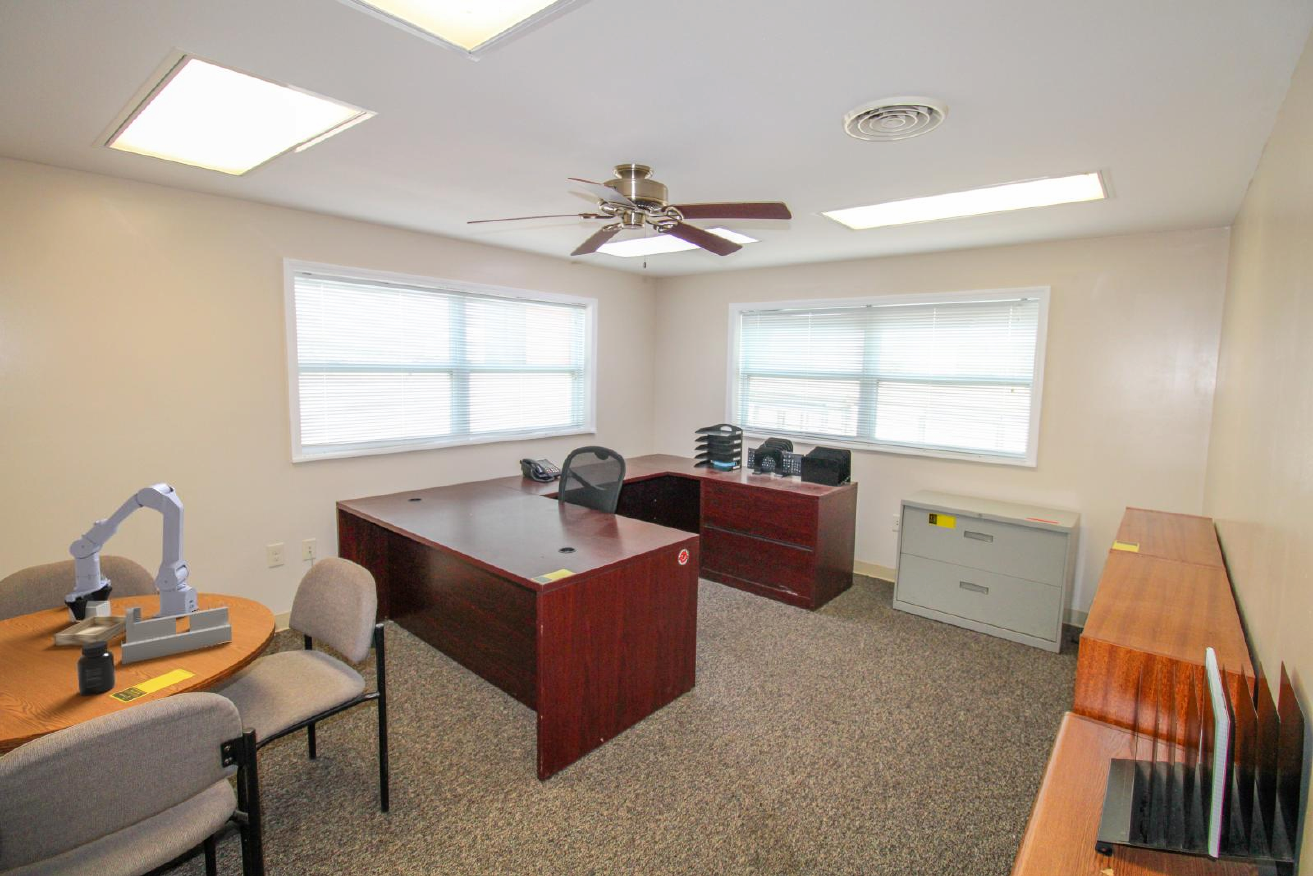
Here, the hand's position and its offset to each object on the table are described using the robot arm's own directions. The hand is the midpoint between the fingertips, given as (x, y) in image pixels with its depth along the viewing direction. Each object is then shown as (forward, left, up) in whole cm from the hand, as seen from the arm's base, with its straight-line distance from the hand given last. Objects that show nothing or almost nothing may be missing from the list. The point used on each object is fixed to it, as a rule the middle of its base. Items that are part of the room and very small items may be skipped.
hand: (90, 614), depth 193 cm
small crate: (0, 0, -1) cm, 1 cm away
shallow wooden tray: (-11, +12, -1) cm, 16 cm away
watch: (+11, -15, -2) cm, 19 cm away
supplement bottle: (-36, +44, -2) cm, 57 cm away
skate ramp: (-36, +14, -2) cm, 39 cm away
